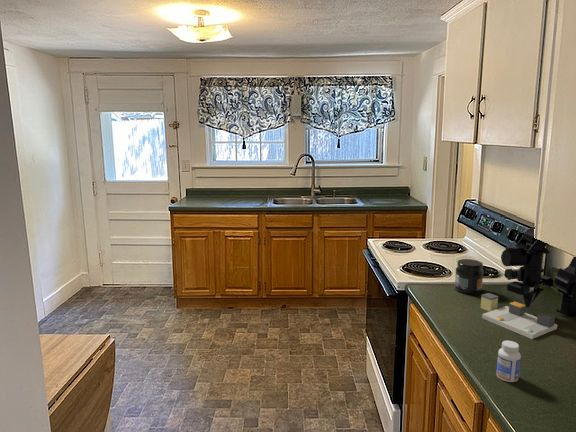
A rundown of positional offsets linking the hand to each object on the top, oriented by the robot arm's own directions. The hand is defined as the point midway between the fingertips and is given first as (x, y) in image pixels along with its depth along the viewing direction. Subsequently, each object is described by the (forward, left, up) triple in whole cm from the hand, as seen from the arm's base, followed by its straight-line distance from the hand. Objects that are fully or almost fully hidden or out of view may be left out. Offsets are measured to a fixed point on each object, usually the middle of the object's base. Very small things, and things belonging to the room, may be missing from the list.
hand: (527, 307), depth 156 cm
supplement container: (-1, -26, -3) cm, 26 cm away
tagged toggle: (+7, 0, -1) cm, 7 cm away
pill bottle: (+44, +21, -3) cm, 48 cm away
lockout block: (+8, -10, -3) cm, 13 cm away
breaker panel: (+10, +3, -3) cm, 11 cm away
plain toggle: (+7, +10, -1) cm, 12 cm away
